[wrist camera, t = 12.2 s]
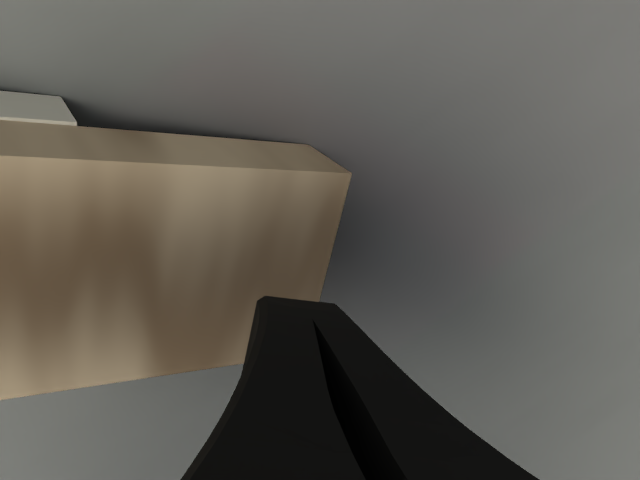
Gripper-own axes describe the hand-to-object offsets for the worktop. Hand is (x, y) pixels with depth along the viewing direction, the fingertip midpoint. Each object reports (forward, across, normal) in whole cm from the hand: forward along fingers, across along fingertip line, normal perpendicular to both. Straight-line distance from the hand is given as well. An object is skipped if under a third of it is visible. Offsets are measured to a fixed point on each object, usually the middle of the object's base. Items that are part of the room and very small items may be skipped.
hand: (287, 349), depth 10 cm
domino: (+4, -1, 0) cm, 5 cm away
